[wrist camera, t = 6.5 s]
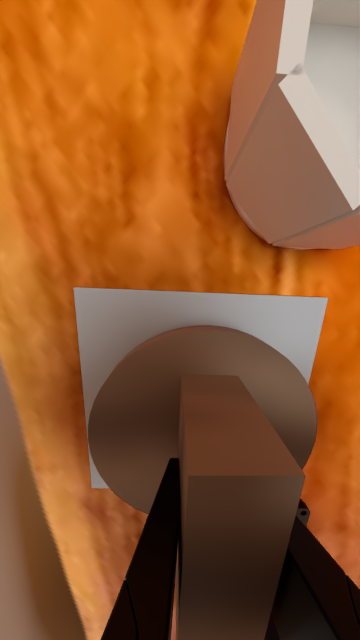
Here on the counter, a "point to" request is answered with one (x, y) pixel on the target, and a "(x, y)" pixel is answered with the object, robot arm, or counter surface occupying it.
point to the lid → (211, 464)
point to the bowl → (298, 125)
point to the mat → (182, 311)
